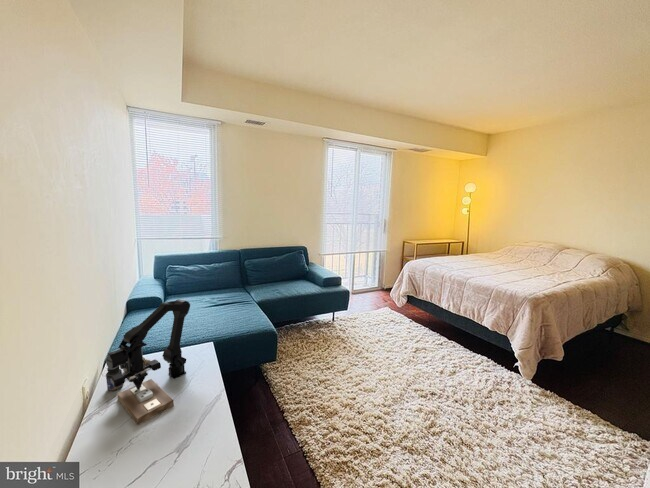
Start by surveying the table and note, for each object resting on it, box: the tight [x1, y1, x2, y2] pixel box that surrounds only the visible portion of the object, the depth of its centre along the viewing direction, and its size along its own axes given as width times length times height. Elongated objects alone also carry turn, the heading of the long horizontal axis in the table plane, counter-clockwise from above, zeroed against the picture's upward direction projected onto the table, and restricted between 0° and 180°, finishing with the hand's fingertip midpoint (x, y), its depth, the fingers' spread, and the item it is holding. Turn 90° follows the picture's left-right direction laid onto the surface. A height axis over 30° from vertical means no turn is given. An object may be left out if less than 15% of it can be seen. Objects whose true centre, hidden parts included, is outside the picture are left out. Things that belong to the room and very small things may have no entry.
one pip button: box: [143, 399, 161, 411], centre depth 121 cm, size 5×5×3 cm
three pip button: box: [136, 389, 153, 403], centre depth 126 cm, size 5×5×3 cm
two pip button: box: [130, 385, 146, 395], centre depth 131 cm, size 5×5×3 cm
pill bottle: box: [105, 366, 124, 392], centre depth 136 cm, size 6×6×11 cm
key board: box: [117, 378, 175, 426], centre depth 126 cm, size 14×24×3 cm, turn 52°
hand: (138, 389), depth 131 cm, fingers closed, pressing on two pip button
